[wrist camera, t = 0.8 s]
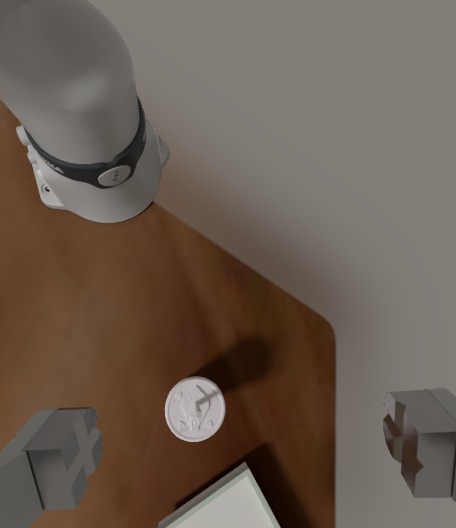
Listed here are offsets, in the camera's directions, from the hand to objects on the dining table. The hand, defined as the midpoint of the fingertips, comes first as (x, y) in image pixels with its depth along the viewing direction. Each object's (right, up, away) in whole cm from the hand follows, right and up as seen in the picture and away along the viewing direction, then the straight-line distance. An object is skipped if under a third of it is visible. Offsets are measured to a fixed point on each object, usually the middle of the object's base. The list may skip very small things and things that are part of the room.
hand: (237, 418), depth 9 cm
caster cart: (0, -29, +32) cm, 44 cm away
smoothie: (-5, -13, +35) cm, 37 cm away
